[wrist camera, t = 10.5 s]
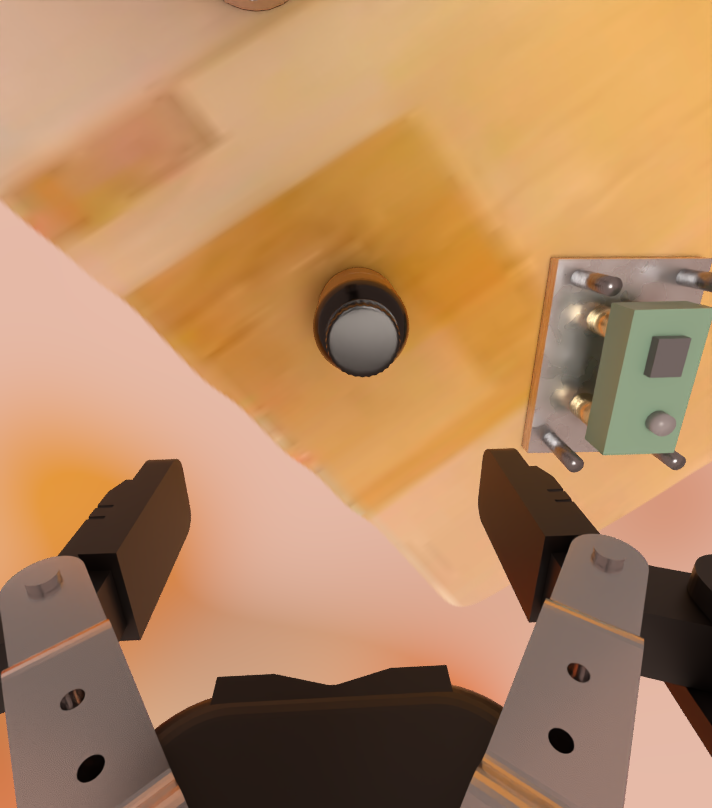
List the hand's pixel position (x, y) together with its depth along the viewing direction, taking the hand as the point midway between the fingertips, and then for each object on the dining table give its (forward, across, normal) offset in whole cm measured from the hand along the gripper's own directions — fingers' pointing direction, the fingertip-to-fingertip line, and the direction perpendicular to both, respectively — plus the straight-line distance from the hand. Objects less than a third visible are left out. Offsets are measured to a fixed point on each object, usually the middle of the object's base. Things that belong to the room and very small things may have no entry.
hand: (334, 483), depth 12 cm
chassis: (+29, -25, +6) cm, 39 cm away
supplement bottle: (+30, -2, +1) cm, 30 cm away
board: (+25, -25, +6) cm, 36 cm away
